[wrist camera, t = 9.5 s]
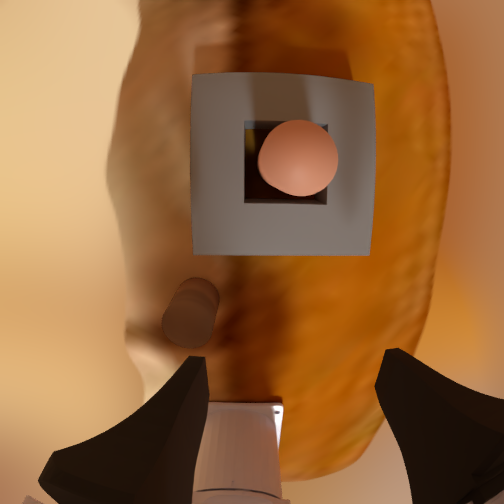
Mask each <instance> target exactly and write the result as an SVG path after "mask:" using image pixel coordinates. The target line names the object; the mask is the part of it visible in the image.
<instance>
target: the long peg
mask: <svg viewBox="0 0 504 504" xmlns="http://www.w3.org/2000/svg"><path fill="white" fill-rule="evenodd" d="M337 166H338V153H337V148H336V145H335V143H334V141H333V139H332V138H331V136H330V135H329V134H328V133H327V132H326V131H325V130H324V129H323V128H322V127H320V126H319V125H317V124H315V123H313V122H310V121H306V120H291V121H287V122H284V123H282V124H280V125H278V126H277V127H275V128H274V129H273V130H272V131H271V132H270V133H269V135H268V136H267V137H266V139H265V141H264V143H263V145H262V148H261V150H260V152H259V154H258V157H257V170H258V173H259V175H260V176H261V178H262V179H263V180H264V181H265V182H266V183H268V184H269V185H271V186H273V187H275V188H277V189H279V190H281V191H283V192H285V193H287V194H290V195H294V196H308V195H312V194H315V193H317V192H319V191H321V190H322V189H324V188H325V187H326V186H327V185H328V184H329V183H330V182H331V180H332V179H333V177H334V175H335V173H336V170H337Z"/></svg>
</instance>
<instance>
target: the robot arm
mask: <svg viewBox="0 0 504 504" xmlns="http://www.w3.org/2000/svg"><path fill="white" fill-rule="evenodd" d="M375 390H376V393H377V397H378V400H379V403H380V406H381V408H382V410H383V413H384V415H385V417H386V419H387V421H388V423H389V425H390V427H391V429H392V432H393V434H394V436H395V438H396V440H397V442H398V445H399V447H400V450H401V452H402V456H403V459H404V463H405V466H406V470H407V475H408V479H409V484H410V489H411V496H412V502H413V504H504V399H500V398H495V397H492V396H489V395H485V394H482V393H479V392H477V391H474V390H472V389H469V388H467V387H465V386H462V385H460V384H458V383H456V382H454V381H452V380H451V379H449V378H447V377H445V376H443V375H442V374H440V373H438V372H437V371H435V370H433V369H432V368H430V367H429V366H427V365H425V364H424V363H422V362H421V361H419V360H417V359H416V358H414V357H413V356H411V355H410V354H408V353H406V352H405V351H403V350H401V349H399V348H394V349H386V350H385V353H384V357H383V360H382V364H381V367H380V370H379V374H378V377H377V380H376V383H375ZM282 416H283V404H281V403H222V402H209V387H208V379H207V370H206V361H205V357H198V356H189V357H188V358H187V359H186V360H185V361H184V363H183V364H182V365H181V366H180V367H179V369H178V370H177V371H176V372H175V373H174V375H173V376H172V377H171V378H170V379H169V380H168V381H167V382H166V383H165V385H164V386H163V387H162V388H161V389H160V390H159V391H158V392H157V393H156V394H155V395H154V396H153V397H152V398H151V399H149V400H148V401H147V402H146V403H145V404H144V405H143V406H142V407H140V408H139V409H138V410H137V411H136V412H134V413H133V414H132V415H130V416H129V417H128V418H126V419H125V420H123V421H122V422H120V423H119V424H117V425H115V426H114V427H112V428H110V429H109V430H107V431H105V432H103V433H101V434H99V435H97V436H95V437H93V438H91V439H89V440H86V441H84V442H82V443H79V444H77V445H73V446H70V447H68V448H64V449H61V450H58V451H54V452H53V454H52V455H51V457H50V458H49V460H48V462H47V464H46V466H45V467H44V469H43V471H42V473H41V475H40V477H39V479H38V482H39V484H40V486H41V487H42V488H43V490H44V491H45V492H46V493H47V494H48V495H50V496H51V497H52V498H53V499H54V500H55V501H56V502H57V503H58V504H290V500H284V499H282V489H281V478H280V466H279V454H278V448H279V441H280V433H281V425H282ZM23 504H43V503H41V502H39V501H38V500H36V499H34V498H32V497H31V496H26V498H25V500H24V502H23Z"/></svg>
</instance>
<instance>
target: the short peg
mask: <svg viewBox="0 0 504 504" xmlns="http://www.w3.org/2000/svg"><path fill="white" fill-rule="evenodd" d="M218 305H219V294H218V291H217V289H216V288H215V287H214V285H213V284H211V283H210V282H209V281H207V280H205V279H202V278H191V279H188V280H186V281H184V282H183V283H182V284H181V285H180V287H179V288H178V290H177V292H176V294H175V295H174V297H173V299H172V300H171V302H170V304H169V306H168V307H167V309H166V311H165V313H164V314H163V317H162V329H163V331H164V333H165V335H166V336H167V338H168V339H169V340H170V341H172V342H173V343H174V344H176V345H178V346H181V347H184V348H197V347H200V346H202V345H204V344H205V343H206V342H207V341H208V340H209V339H210V337H211V335H212V331H213V326H214V322H215V317H216V313H217V309H218Z"/></svg>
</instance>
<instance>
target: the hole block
mask: <svg viewBox="0 0 504 504" xmlns="http://www.w3.org/2000/svg"><path fill="white" fill-rule="evenodd" d="M291 120H306V121H310V122H313V123H315V124H317V125H319V126H320V127H322V128H323V129H324V130H325V131H326V132H327V133H328V134H329V135H330V136H331V138H332V139H333V141H334V143H335V145H336V148H337V153H338V166H337V170H336V173H335V175H334V177H333V179H332V180H331V182H330V183H329V184H328V185H327V186H326V187H325V188H324V189H322V190H321V191H319V192H317V193H315V200H312V199H265V198H245V129H274V128H275V127H277V126H278V125H280V124H282V123H284V122H287V121H291ZM375 164H376V131H375V103H374V86H373V84H370V83H364V82H359V81H353V80H346V79H339V78H332V77H324V76H315V75H304V74H290V73H268V72H230V73H208V74H194V75H192V92H191V131H190V179H191V220H192V244H193V255H369V254H370V245H371V235H372V223H373V210H374V193H375Z"/></svg>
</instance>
